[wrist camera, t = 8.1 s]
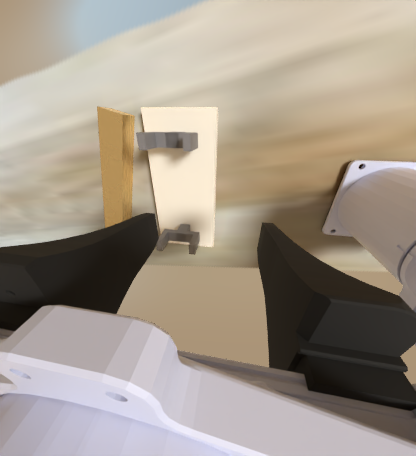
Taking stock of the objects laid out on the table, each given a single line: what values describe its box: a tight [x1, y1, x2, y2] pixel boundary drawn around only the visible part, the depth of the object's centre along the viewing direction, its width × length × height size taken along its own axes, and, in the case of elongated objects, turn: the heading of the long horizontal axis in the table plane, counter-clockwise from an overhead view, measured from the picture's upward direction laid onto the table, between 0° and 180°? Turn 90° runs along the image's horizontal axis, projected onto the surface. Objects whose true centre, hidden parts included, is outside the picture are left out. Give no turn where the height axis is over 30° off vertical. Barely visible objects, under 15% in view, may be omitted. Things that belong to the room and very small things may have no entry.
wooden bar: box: [97, 106, 134, 228], centre depth 20 cm, size 2×15×2 cm, turn 166°
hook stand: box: [136, 107, 218, 255], centre depth 18 cm, size 7×15×5 cm, turn 0°
